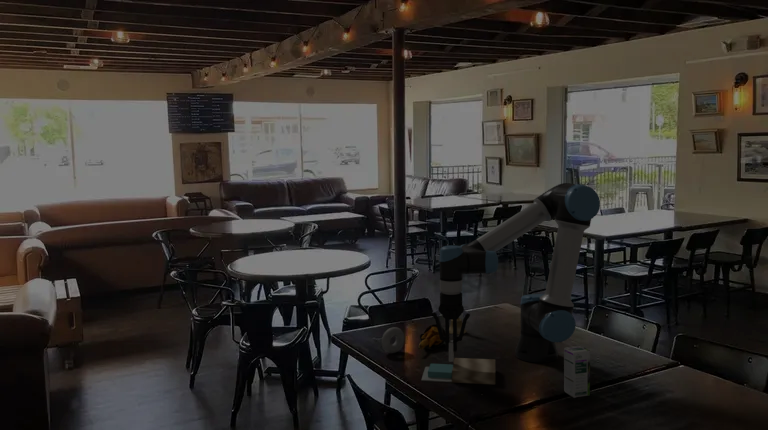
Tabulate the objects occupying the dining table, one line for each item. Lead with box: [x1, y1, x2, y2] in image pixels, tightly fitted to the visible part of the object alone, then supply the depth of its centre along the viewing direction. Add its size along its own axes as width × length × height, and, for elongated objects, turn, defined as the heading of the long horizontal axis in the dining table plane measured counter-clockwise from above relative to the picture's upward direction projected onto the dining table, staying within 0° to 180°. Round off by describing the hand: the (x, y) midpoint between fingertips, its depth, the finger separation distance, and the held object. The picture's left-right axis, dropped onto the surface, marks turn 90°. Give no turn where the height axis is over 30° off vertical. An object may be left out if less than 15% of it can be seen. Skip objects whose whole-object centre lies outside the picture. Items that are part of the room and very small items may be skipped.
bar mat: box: [421, 366, 453, 383], centre depth 216 cm, size 10×13×1 cm
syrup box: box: [563, 345, 591, 399], centre depth 196 cm, size 6×6×14 cm
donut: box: [381, 326, 405, 354], centre depth 239 cm, size 10×3×10 cm, turn 125°
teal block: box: [428, 363, 453, 378], centre depth 215 cm, size 8×8×2 cm
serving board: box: [451, 357, 496, 385], centre depth 213 cm, size 14×13×4 cm
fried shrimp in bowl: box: [417, 323, 445, 351], centre depth 243 cm, size 9×11×18 cm
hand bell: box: [449, 317, 467, 336], centre depth 265 cm, size 8×8×16 cm
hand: (451, 360), depth 214 cm, fingers closed
